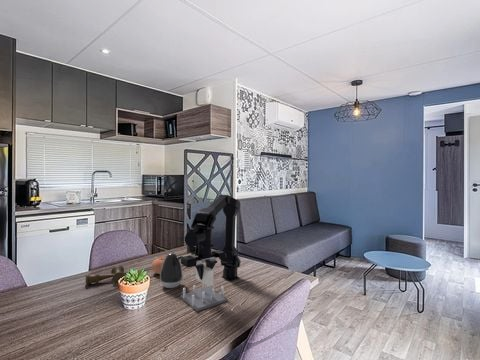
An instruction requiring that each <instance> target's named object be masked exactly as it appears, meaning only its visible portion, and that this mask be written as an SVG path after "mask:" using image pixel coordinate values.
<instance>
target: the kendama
mask: <svg viewBox="0 0 480 360" xmlns="http://www.w3.org/2000/svg"><path fill="white" fill-rule="evenodd" d="M127 272H128V271H127ZM127 272H126V271H125V268H124V267H123V265H115V266H113V267H112V269H111V271H110V274H109V273H108V274H101V273H95V274H89V273H87V274H86V275H85V286H87V285H88V286H89V285H91V284H93V283H96V284H98V283H100V282H101V281H104V280H107V279H110V278H111V280H112V282H113V284H117V285H118V284H119V283H118V280H119V279H120V278H122V277H123V276H125V277H126V275H127V274H126V273H127Z"/></svg>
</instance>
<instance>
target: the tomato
mask: <svg viewBox="0 0 480 360" xmlns="http://www.w3.org/2000/svg"><path fill="white" fill-rule="evenodd" d="M165 258H166V256H163V257H158V258H156V259H154V260H153V261H152V263H151V270H152V272H153V273H154V274H157V275H160V273H161V268H162V265H163V262H164V260H165Z"/></svg>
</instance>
